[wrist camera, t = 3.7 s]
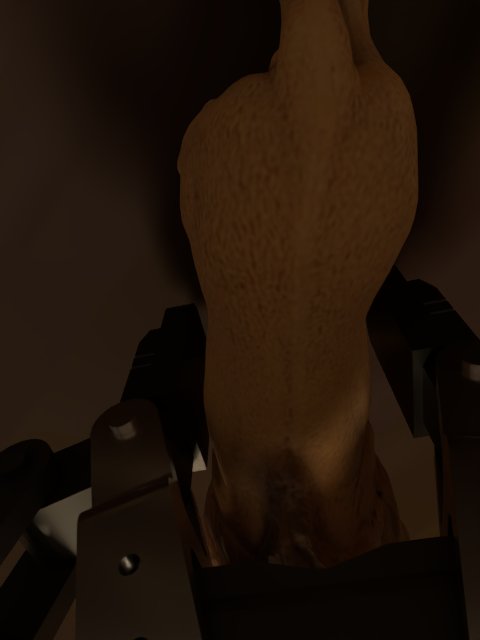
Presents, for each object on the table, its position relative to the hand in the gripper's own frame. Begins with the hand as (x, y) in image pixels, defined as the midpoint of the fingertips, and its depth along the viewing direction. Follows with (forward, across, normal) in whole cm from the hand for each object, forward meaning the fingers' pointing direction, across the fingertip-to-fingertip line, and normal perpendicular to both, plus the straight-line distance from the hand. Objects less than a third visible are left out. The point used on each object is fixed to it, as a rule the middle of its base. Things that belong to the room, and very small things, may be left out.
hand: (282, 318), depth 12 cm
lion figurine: (+1, 0, -1) cm, 2 cm away
